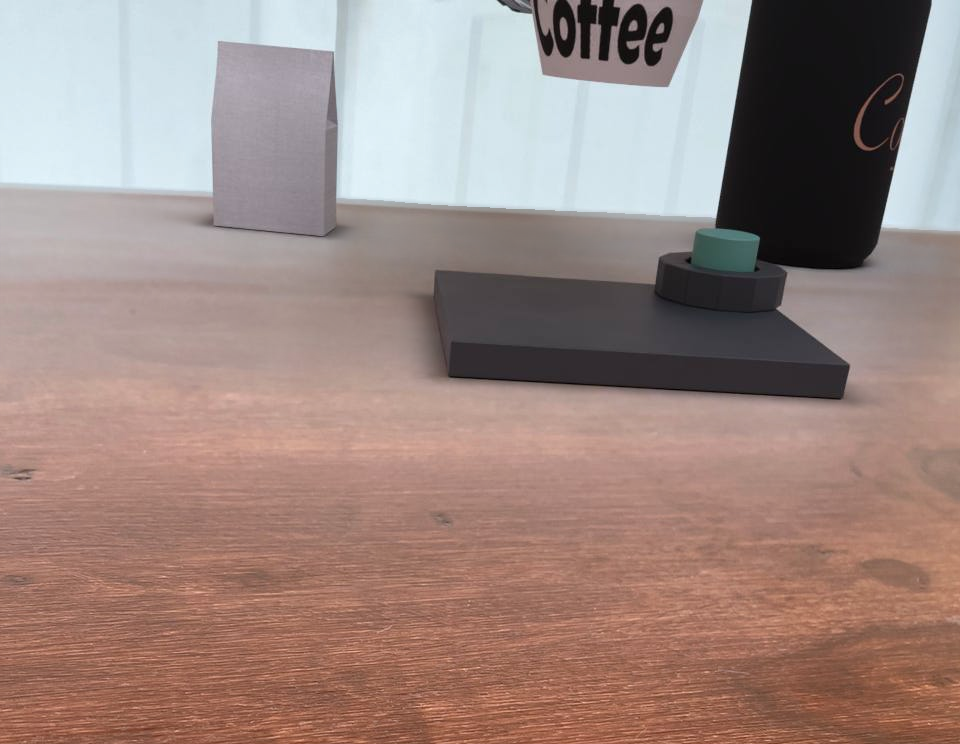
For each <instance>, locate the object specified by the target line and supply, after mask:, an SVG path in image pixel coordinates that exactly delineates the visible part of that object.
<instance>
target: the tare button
mask: <svg viewBox="0 0 960 744" xmlns="http://www.w3.org/2000/svg"><path fill="white" fill-rule="evenodd" d="M759 241H760V238H759V236H757V235H754V234H751V233H747V232H742V231H736V230H728V229H716V228H715V227H714V228H713V227H709V228H708V227H705V228H698V229H697V230H695V234H694V239H693V246H692V251H691V252H692V258H691V264H692V265H695V266H699V267H702V268H709V269H715V270H721V271H735V272H754V268H755V263H756V257H757V252H758V246H759Z"/></svg>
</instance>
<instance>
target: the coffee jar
mask: <svg viewBox="0 0 960 744" xmlns="http://www.w3.org/2000/svg"><path fill="white" fill-rule="evenodd" d="M932 5H933V0H751V5H750V10H749V16H748V22H747V29H746V35H745V40H744V47H743V52H742V59H741V66H740V70H739V77H738V84H737V89H736V97H735V102H734V108H733V113H732V120H731V125H730V131H729V138H728V145H727V150H726V155H725V162H724V169H723V175H722V179H721V180H722V181H721V185H720V193H719V199H718V205H717V211H716V215H715V222H714V228H716V229H728V230H736V231H742V232H747V233H751V234H754V235H757V236H759V238H760V241H759V246H758V252H757V257H756V259H757V260H761V261H764V262H768V263H772V264H779V265H785V266H795V267H805V268H816V269H848V268H855V267H859V266H862V264H863V263H864V261H865V260H866V259H867V258H868V257H869V256H870V255H872V253H873V252H874V250H875V249H876V247H877V245H878V244H879V238H880V235H881V229H882V226H883V221H884V217H885V211H886V208H887V203H888V198H889V194H890V190H891V186H892V182H893V176H894V173H895V168H896V163H897V160H898V155H899V151H900V146H901V142H902V137H903V132H904V129H905V124H906V120H907V115H908V111H909V108H910V107H909V106H910V103H911V98H912V94H913V88H914V85H915V81H916V75H917V70H918V67H919V63H920V58H921V54H922V50H923V45H924V40H925V36H926V31H927V28H928V24H929V23H928V22H929V19H930V15H931V9H932Z"/></svg>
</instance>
